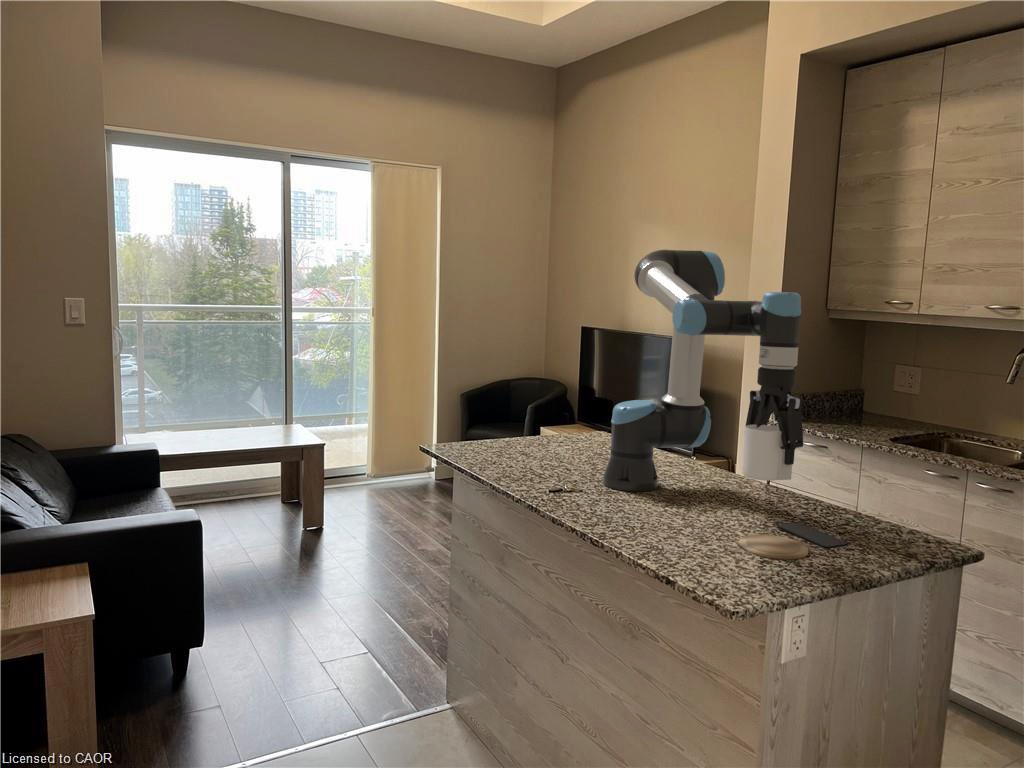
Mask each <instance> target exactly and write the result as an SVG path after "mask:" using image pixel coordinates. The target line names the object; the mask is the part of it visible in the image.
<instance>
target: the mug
mask: <svg viewBox="0 0 1024 768" xmlns="http://www.w3.org/2000/svg"><path fill="white" fill-rule="evenodd" d="M743 431H744V433H743V449H742V450H743V451H742V464H741V465H742V467H741V468H742V469H741V471H742V475H743V476H744V477H746V478H748V479H753V480H757V481H764V482H765V481H767V482H768V481H770V482H771V481H772V482H773V481H779V480H778V470H779V455H780V447H782V446H783V443H782V439H781V433H782V432H781V431H780V430H779V425H776V426H775V425H768V424H767V425H761V426H759V427H758V428H757V425H747V426H746V425H745V426H744V430H743ZM788 443H789V441H788Z"/></svg>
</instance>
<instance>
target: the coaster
mask: <svg viewBox="0 0 1024 768" xmlns="http://www.w3.org/2000/svg"><path fill="white" fill-rule="evenodd" d="M738 546H739V547H740V549H742V550H744V551H745V552H747V553H749V554H752V555H756V556H759V557H763V558H767V559H772V560H780V561H781V560H783V561H786V560H787V561H789V560H790V561H792V560H793V561H794V560H798V559H799V560H801V559H803V558H806V557H807V556H808V555H809V548H808V546H806V545H805V544H804V543H803V542H800V541H797V540H795V539H792V538H790V537H785V536H781V535H774V534H766V533H765V534H761V533H759V534H758V533H757V534H748V535H744V536H741V537H740V538H738Z"/></svg>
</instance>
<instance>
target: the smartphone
mask: <svg viewBox="0 0 1024 768" xmlns="http://www.w3.org/2000/svg"><path fill="white" fill-rule="evenodd" d="M776 529H778V530H780V531H782V532H784V533H787V534H789V535H791V536H793V537H795V538H796V537H797V538H799V539H801V540H804V541H806V542H808V543H810V544H813V545H816V546H818V547H820V548H823V549H834V548H839V547H840V548H841V547H847V546H849V542H847V541H845V540H843V539H839V538H837V537H835V536H833V535H830V534H828V533H826V532H824V531H821V530H819V529H817V528H814V527H811V526H809V525H807V524H804V523H802V522H789V523H782V524H777V526H776Z"/></svg>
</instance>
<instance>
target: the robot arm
mask: <svg viewBox="0 0 1024 768" xmlns="http://www.w3.org/2000/svg"><path fill="white" fill-rule="evenodd" d="M633 277H634V282H635V284H636V286H637V288H638V289H639V291H640V292H642V293H643V294H644V295H645V296H647V297H649V298H654V299H656V300H657V302H659V303H660V304H661V305H662V306H663V307H664V308H666V310H668V311H669V312H670V314H672V317H671V318H672V319H671V320H672V325H673V326H672V327H673V328H672V339H671V350H670V362H669V363H670V364H669V373H668V374H669V375H668V386H667V393H666V394H664V395H663V396H662V397H661V401H660V403H661V404H660V405H657V404H656V401H654V400H649V399H643V400H642V399H634V400H626V401H622V402H619V403H617V404H616V405H614V407H613V409H612V416H611V421H610V422H611V437H610V440H611V441H610V456H609V459H608V462H607V464H606V467H605V470H604V473H603V475H602V477H603V478H602V484H603V485H604V486H606V487H607V488H611V489H615V490H617V491H618V490H620V491H627V492H646V491H647V492H648V491H653V490H655V489H657V488H658V487H659V478H658V474H657V473H658V472H657V470H656V469H657V468H656V466H655V465H656V464H655V462H654V455H653V454H654V449H655V448H658V449H661V448H663V449H665V448H667V449H668V448H670V449H671V448H672V449H673V448H683V449H688V448H698V447H701V446H702V445H703V444H704V443H705V442H706V441H707V439H708V438H709V435H710V431H711V426H712V419H711V412H710V410H709V407H707V406H705V401H704V399H703V398H702V397H701V396H700V395H701V394H700V393H701V391H700V390H701V381H702V373H703V372H702V371H703V361H704V350H705V339H706V336H742V337H743V336H749V337H750V336H752V337H759V354H758V364H759V365H760V367H758V369H757V378H756V379H757V380H756V381H757V385H759V386H760V389H759V390H750V391H749V406H748V410H747V415H746V416H747V417H746V421H745V426H747V425H757V428H758V427H759V426H761V425H768V423H769V421H770V418H771V416H772V415H774V417H775V418H776V421H777V424H778V425H777V426H778V427H779V430H780V431H781V432H782V433H781V439H782V443H783V446H782V447H780V455H779V470H778V480H777V481H788V480H792V471H793V465H794V463H795V452H796V449H798V448H803V447H804V432H803V431H804V429H803V416H802V415H803V414H802V413H803V412H802V408H803V403H804V399H803V398H801V397H800V398H799V397H795V396H794V395H793V392H792V388H793V387H795V386H796V382H797V370H796V368H794V367H797V366H798V359H799V357H798V355H799V343H800V330H801V318H802V317H801V316H802V296H801V295H800V294H799V293H798V292H791V291H790V292H789V291H788V292H786V291H785V292H784V291H783V292H782V291H767V292H765V293H764V294H763V296H762V301H760V300H759V301H758V300H721V299H720V300H719V299H718V300H717V299H716V300H715V297H718V296H719V295H721V294H722V293H723V291H724V287H725V284H726V273H725V268H724V264H723V261H722V259H721V258H720V256H719V255H718V254H717V253H715V252H712V251H705V250H681V249H680V250H679V249H677V250H676V249H659V250H655V251H651V252H650V253H647V254H646V255H645V256H644V257H642V259H640V261H639V262H638V263H637V265H636V267H635V270H634V276H633ZM788 441H789V443H788Z"/></svg>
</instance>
